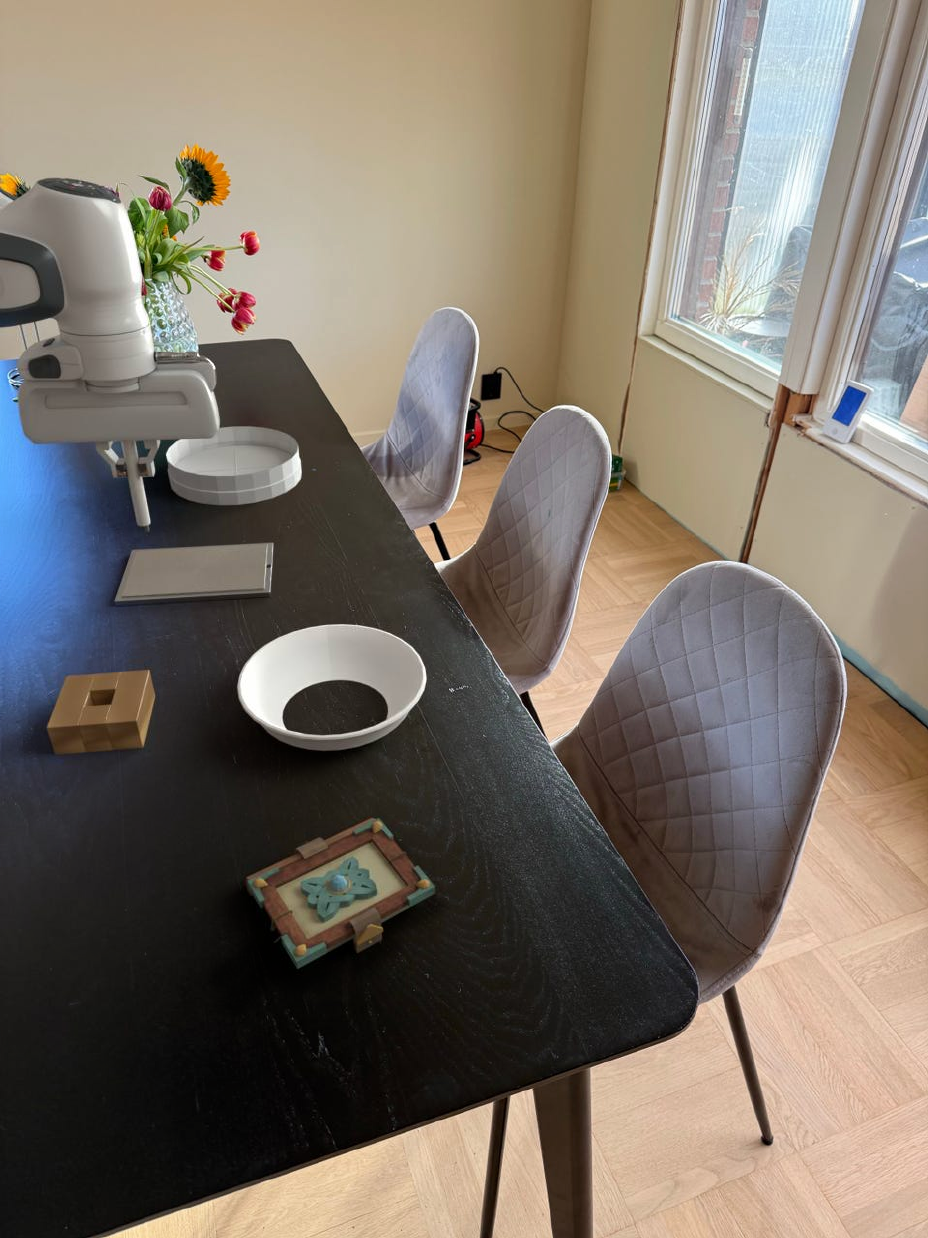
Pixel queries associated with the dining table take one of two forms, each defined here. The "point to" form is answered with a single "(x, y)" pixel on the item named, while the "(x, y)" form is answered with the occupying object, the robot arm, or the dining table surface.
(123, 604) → the tablet
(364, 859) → the decorative book
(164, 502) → the dining table surface
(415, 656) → the white flared ring
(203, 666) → the dining table surface
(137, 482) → the stylus
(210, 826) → the dining table surface
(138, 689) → the holder
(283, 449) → the dish
